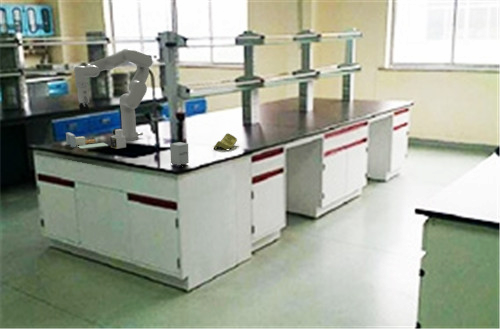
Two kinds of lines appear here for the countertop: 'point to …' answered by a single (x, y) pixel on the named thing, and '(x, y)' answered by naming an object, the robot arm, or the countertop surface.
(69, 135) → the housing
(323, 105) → the countertop surface
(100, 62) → the robot arm
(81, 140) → the plug
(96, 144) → the mat
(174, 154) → the supplement box
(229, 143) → the plastic component
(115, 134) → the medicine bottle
